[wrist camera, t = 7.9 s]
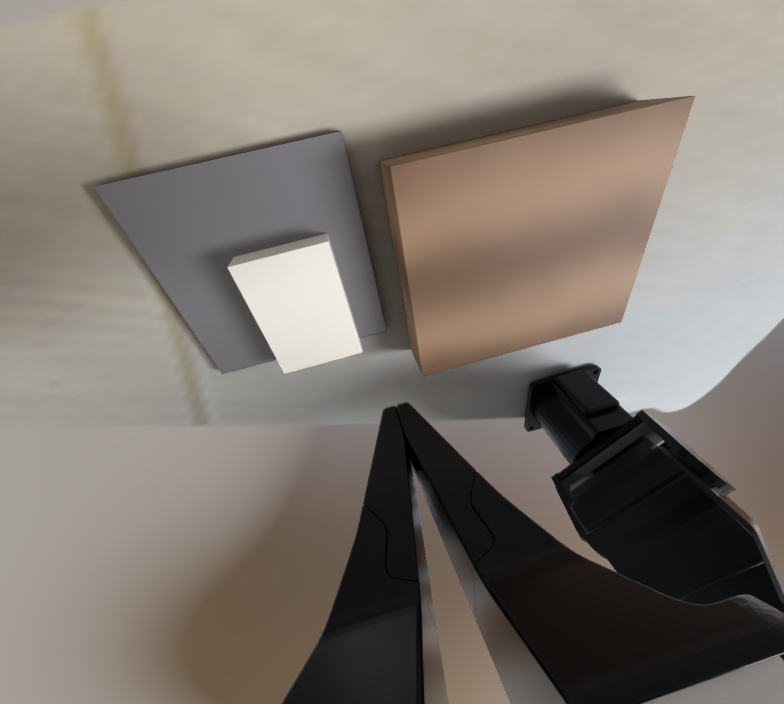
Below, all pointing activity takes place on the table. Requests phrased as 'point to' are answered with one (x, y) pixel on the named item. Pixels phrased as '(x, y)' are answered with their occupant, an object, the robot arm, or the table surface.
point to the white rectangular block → (298, 302)
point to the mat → (245, 234)
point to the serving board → (527, 229)
